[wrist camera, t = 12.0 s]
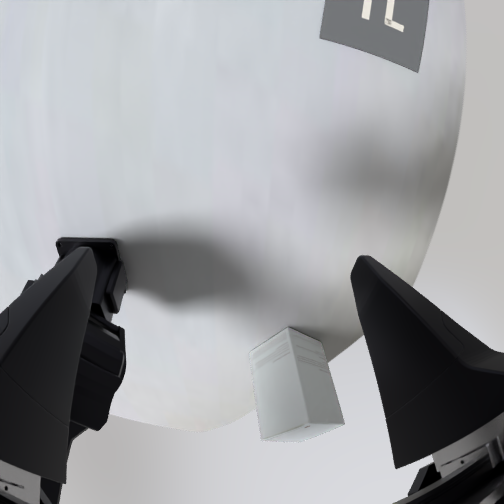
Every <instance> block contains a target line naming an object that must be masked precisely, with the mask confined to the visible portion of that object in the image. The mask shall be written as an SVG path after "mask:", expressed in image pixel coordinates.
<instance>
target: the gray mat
mask: <svg viewBox="0 0 504 504" xmlns="http://www.w3.org/2000/svg"><path fill="white" fill-rule="evenodd" d="M428 5H429V0H325V6H324V13H323V19H322V25H321V31H320V38H321V39H325V40H329V41H332V42H336V43H339V44H343V45H346V46H350V47H353V48H356V49H359V50H362V51H365V52H368V53H371V54H374V55H376V56H379V57H382V58H384V59H387V60H389V61H392V62H394V63H397V64H399V65H402V66H404V67H406V68H408V69H411V70H413V71H415V72H417V73H418V70H419V65H420V60H421V54H422V48H423V42H424V36H425V29H426V22H427V14H428Z"/></svg>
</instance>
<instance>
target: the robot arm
mask: <svg viewBox="0 0 504 504" xmlns="http://www.w3.org/2000/svg"><path fill="white" fill-rule="evenodd" d="M61 244H62V245H61ZM110 245H113V246H110ZM56 247H57V250H58V253H59V256H60V257H59V259H58V261H57V262H56V264H55V266H54V267H53V268H52V269H51V270H49V271H48V272H47V273H46V274H44V275H42V274H41V275H40V277H39V279H38V280H36V279H35V281H33V280H28V282H27V283H26V285H25V287H24V289H23V291H22V293H21V295H20V296H19V297H18V298H17V299H16V300H14V301H13V302H12V303H11V304H10V305H9V307H7V308H6V309H5V310H4V311H3V312H2V313H0V504H59V501H60V495H61V489H62V484H66V469H67V460H68V456H69V452H70V448H71V444H72V441H73V440H74V439H75V438H76V437H77V436H79V435H80V434H82V433H83V432H84V431H86V430H87V429H88V428H90V429H93V430H96V431H99V430H100V429H101V428H102V427H103V426H104V424H105V423H106V422H107V419H108V415H109V410H110V406H111V402H112V399H113V396H114V394H115V392H116V391H117V390H118V388H119V387H120V385H121V383H122V380H123V378H124V375H125V370H126V351H125V330H124V329H123V328H121V327H120V326H116V325H114V324H113V323H111V321H112V317H113V313H114V314H117V313H118V312H119V310H120V306H121V302H122V298H123V295H124V294H125V293H126V290H127V287H126V284H127V278H126V274H125V269H124V265H123V262H122V261H121V260H120V257H119V252H118V247H117V243H116V242H115V241H114V240H111V239H63V238H60V239H58V240H57V241H56ZM351 283H352V288H353V292H354V297H355V302H356V307H357V311H358V316H359V319H360V323H361V326H362V329H363V332H364V336H365V339H366V343H367V346H368V350H369V353H370V357H371V360H372V364H373V368H374V372H375V376H376V379H377V384H378V387H379V392H380V396H381V400H382V404H383V409H384V413H385V417H386V423H387V428H388V432H389V437H390V443H391V448H392V453H393V460H394V465H395V468H396V469H398V468H400V467H403V466H406V465H408V464H411V463H413V462H415V461H418V460H420V459H422V458H424V457H426V456H429V455H431V454H432V456H433V460H434V462H432V463H430V464H429V465H427V466H425V467H423V468H421V469H419V472H418V474H417V476H416V478H415V480H414V482H413V485H412V487H411V489H410V491H409V493H408V497H406V498H404V499H402V500H400V501H397V502H395V503H393V504H504V353H501V352H497V351H494V350H493V349H491V348H489V347H488V346H487V345H485V344H484V343H482V342H481V341H480V340H479V339H477V338H476V337H474V336H473V335H472V334H471V333H469V332H468V331H467V330H465V329H464V328H463V327H461V326H460V325H459V324H458V323H456V322H455V321H454V320H453V319H451V318H450V317H449V316H448V315H446V314H445V313H444V312H443V311H440V309H439V308H438V307H437V306H435V305H434V304H433V303H432V302H430V301H429V300H428V299H427V298H425V297H424V296H423V295H422V294H420V293H419V292H418V291H416V290H415V289H414V288H413V287H411V286H410V285H409V284H407V283H406V282H405V281H403V280H402V279H401V278H399V277H398V276H397V275H395V274H394V273H393V272H391V271H390V270H389V269H387V268H386V267H385V266H383V265H382V264H381V263H379V262H378V261H377V260H375V259H374V258H372V257H371V256H368V255H361V256H359V257H358V258H357V260H356V262H355V265H354V267H353V269H352V272H351Z"/></svg>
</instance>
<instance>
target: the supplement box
mask: <svg viewBox="0 0 504 504" xmlns="http://www.w3.org/2000/svg"><path fill="white" fill-rule="evenodd" d="M249 357H250V364H251V372H252V379H253V387H254V394H255V401H256V408H257V414H258V422H259V429H260V436H261V441H276V442H277V441H278V442H302V441H305V440H308V439H311V438H313V437H316V436H318V435H321V434H324V433H326V432H328V431H331V430H333V429H336V428H338V427H340V426H342V425H344V424H345V423H344V419H343V415H342V411H341V408H340V404H339V401H338V397H337V394H336V390H335V387H334V383H333V380H332V377H331V373H330V370H329V366H328V363H327V360H326V356H325V353H324V350H323V346H322V343H321V342H320V341H318V340H315V339H313V338H311V337H309V336H306V335H304V334H302V333H300V332H298V331H296V330H293V329H291V328H289V327H287V328H286V329H284V330H283V331H281V332H279V333H278V334H277V335H275V336H273V337H272V338H270V339H269V340H267V341H266V342H264V343H263V344H261V345H260V346H258V347H257V348H255V349H253V350H252V351H251V352H250V353H249Z"/></svg>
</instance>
